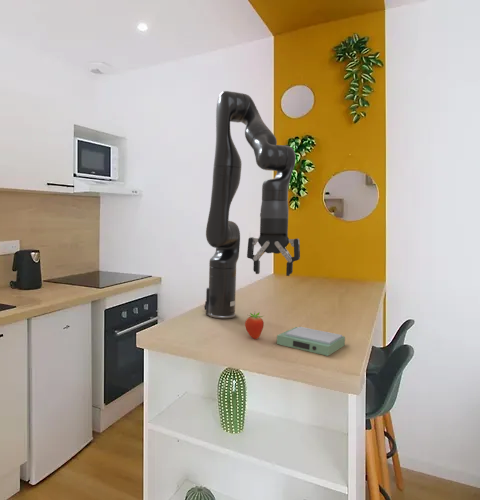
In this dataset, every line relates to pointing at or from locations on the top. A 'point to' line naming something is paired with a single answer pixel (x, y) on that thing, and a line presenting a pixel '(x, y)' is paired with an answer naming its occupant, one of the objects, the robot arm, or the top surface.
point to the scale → (311, 340)
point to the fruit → (254, 325)
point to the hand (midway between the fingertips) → (272, 274)
